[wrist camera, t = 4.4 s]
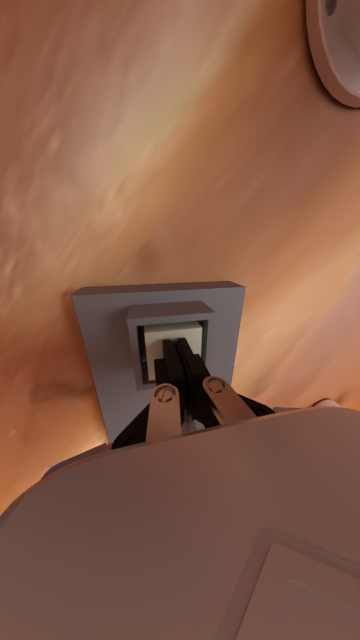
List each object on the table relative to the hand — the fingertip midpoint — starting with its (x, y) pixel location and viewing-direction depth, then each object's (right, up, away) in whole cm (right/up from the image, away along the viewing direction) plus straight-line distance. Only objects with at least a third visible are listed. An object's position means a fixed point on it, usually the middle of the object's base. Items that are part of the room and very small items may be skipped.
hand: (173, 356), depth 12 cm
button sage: (-1, +1, +3) cm, 3 cm away
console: (-1, -8, +10) cm, 13 cm away
